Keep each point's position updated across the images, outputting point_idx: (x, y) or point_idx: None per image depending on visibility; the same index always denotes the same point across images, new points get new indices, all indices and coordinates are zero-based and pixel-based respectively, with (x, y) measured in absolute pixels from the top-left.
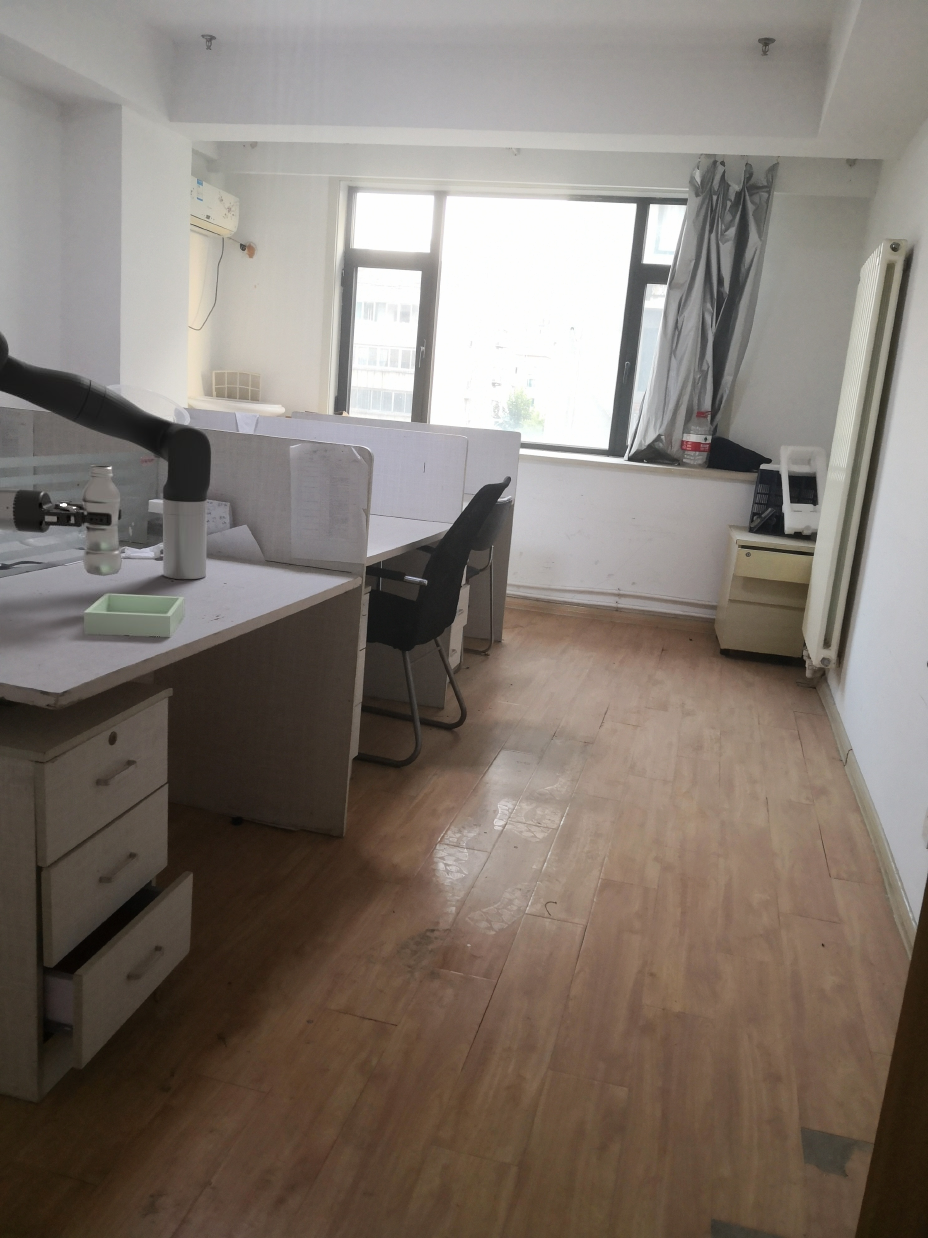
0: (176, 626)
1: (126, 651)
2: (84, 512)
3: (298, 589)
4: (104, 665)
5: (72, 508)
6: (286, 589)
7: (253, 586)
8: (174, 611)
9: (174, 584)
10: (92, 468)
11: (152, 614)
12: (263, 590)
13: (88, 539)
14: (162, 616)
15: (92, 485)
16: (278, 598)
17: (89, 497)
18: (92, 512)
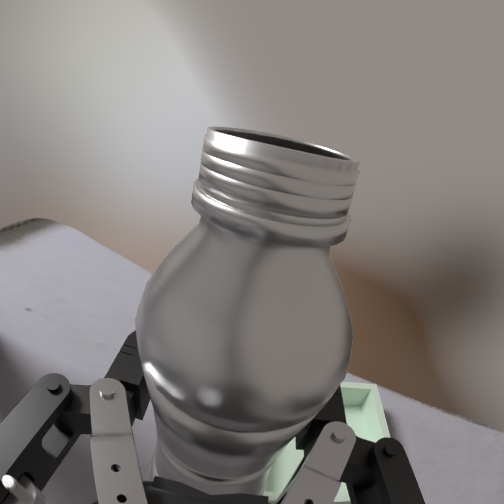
0: None
1: (432, 436)
2: (354, 434)
3: (92, 260)
4: (477, 439)
5: (339, 488)
6: (87, 268)
7: (58, 289)
8: (344, 383)
9: (5, 366)
10: (351, 179)
11: (377, 404)
12: (84, 286)
13: (257, 487)
14: (378, 393)
15: (339, 300)
16: (133, 283)
17: (346, 370)
18: (330, 408)
